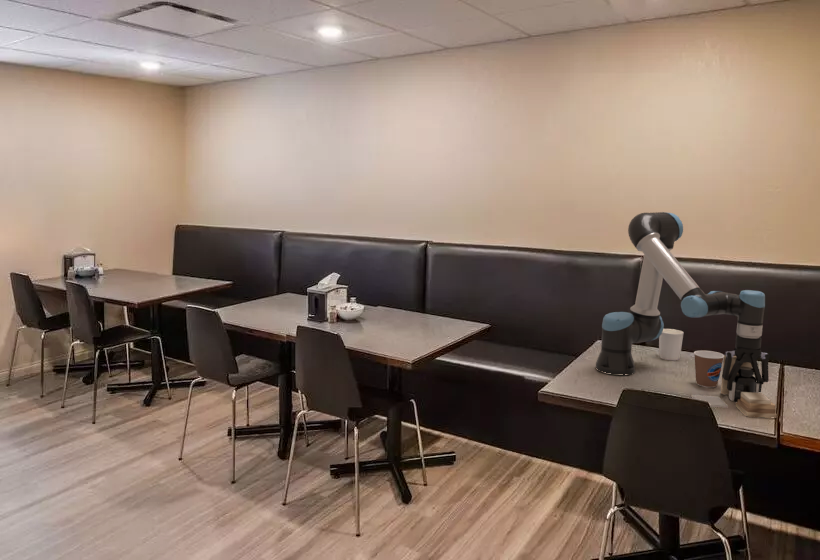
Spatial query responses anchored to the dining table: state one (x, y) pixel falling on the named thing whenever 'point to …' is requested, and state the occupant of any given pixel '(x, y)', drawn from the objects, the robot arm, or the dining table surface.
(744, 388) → the supplement bottle
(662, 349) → the white paper cup
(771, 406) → the set of wooden blocks
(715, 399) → the grey pad
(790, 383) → the dining table surface
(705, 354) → the coffee cup
